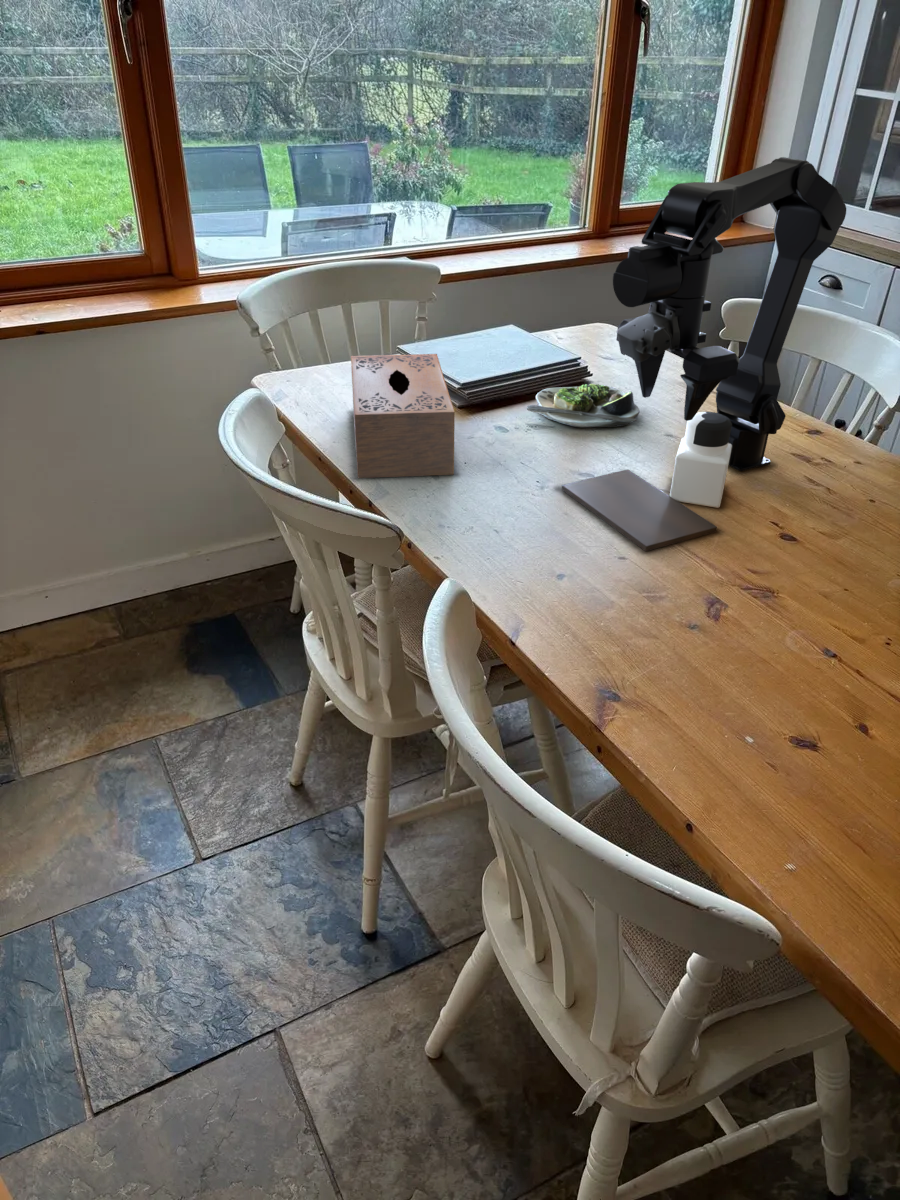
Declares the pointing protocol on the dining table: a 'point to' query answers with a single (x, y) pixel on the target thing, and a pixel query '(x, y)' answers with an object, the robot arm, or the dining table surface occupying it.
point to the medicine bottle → (702, 460)
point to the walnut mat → (638, 509)
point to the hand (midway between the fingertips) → (666, 408)
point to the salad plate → (586, 406)
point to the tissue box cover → (402, 416)
